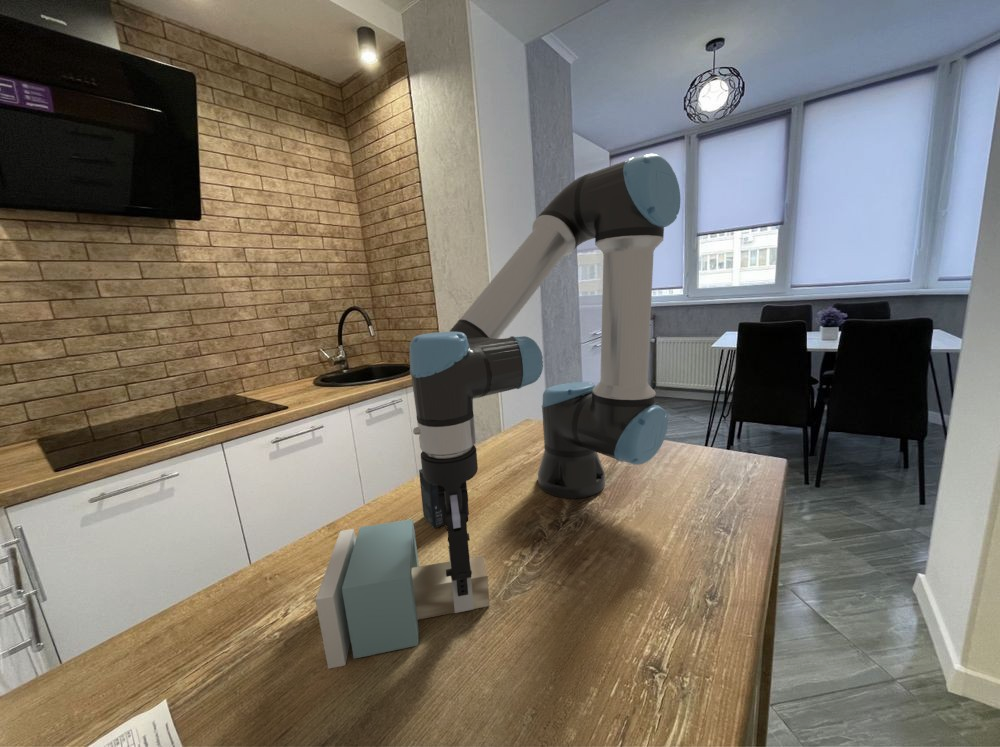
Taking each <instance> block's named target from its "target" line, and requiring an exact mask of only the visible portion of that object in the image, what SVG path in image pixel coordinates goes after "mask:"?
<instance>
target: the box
mask: <svg viewBox="0 0 1000 747" xmlns="http://www.w3.org/2000/svg"><path fill="white" fill-rule="evenodd" d="M418 474H419V484H420V485H419V486H420V492H421V493H420V494H421V503H422V512H423V517H424V518H425V520H426V521H427V522H428V523H429V524H430V526H431V527H432V528H433V529H435V530H436V529H437V528H439V527H442V526H444V525H443V518H442V508H441V507H440V505H439V498H438V485H433V484H431V483H429V482H427V481H426V480H425V479H424V477H423V473H422V468H421V469H419V470H418ZM465 483H466V489H467V490H468V486H467V481H465ZM467 511H468V516H469V515H470V512H469V502H468V503H467ZM463 512H464V511H463Z"/></svg>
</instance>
